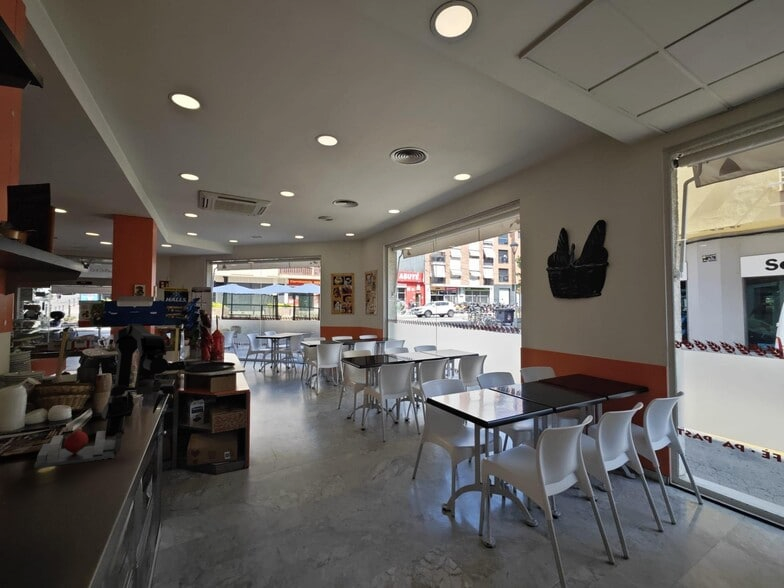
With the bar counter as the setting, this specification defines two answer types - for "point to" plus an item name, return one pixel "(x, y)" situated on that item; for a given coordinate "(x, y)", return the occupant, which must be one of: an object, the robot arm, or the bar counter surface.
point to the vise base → (67, 454)
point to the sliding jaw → (106, 443)
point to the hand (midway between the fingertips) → (140, 413)
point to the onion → (76, 441)
